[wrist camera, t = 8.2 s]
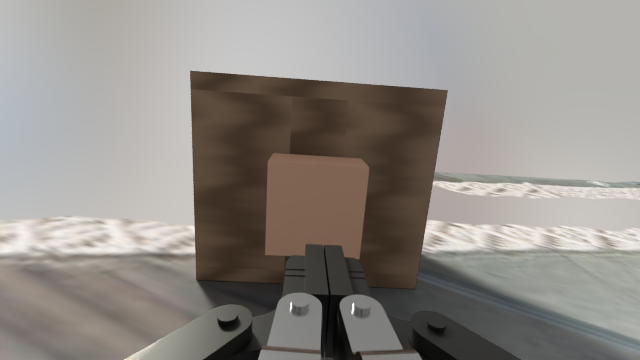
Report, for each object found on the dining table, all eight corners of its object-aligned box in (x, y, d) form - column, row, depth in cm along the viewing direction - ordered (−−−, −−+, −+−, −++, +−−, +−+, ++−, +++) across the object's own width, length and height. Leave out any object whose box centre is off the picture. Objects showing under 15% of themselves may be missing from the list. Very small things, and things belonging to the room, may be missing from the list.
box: (196, 279, 25) (190, 70, 21) (227, 230, 35) (227, 80, 31) (415, 288, 26) (447, 90, 22) (386, 237, 36) (405, 93, 32)
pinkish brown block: (265, 254, 20) (267, 161, 18) (278, 207, 28) (281, 141, 27) (359, 259, 20) (369, 167, 19) (343, 211, 29) (349, 146, 27)
